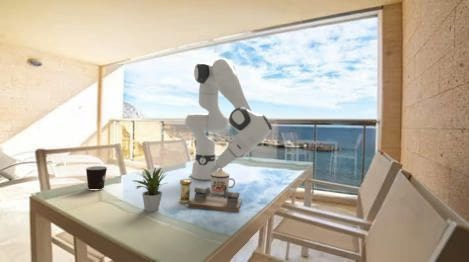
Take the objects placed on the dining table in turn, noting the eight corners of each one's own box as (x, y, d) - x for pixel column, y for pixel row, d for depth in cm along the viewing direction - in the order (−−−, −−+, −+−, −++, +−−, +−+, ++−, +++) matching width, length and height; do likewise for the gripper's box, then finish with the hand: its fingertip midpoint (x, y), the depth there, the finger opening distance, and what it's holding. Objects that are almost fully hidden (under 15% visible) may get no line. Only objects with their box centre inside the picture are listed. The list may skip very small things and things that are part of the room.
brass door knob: (181, 199, 109) (182, 178, 109) (192, 200, 108) (193, 179, 108) (177, 202, 104) (178, 181, 104) (188, 204, 104) (189, 182, 103)
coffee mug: (95, 192, 113) (95, 170, 113) (80, 189, 116) (81, 168, 116) (115, 186, 124) (115, 166, 124) (101, 184, 127) (102, 164, 127)
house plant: (141, 201, 104) (142, 162, 104) (174, 203, 104) (175, 163, 103) (125, 213, 90) (126, 168, 89) (163, 215, 90) (165, 170, 89)
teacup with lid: (209, 195, 118) (210, 170, 117) (210, 189, 127) (211, 166, 126) (235, 196, 118) (236, 171, 118) (234, 190, 127) (235, 167, 127)
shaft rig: (197, 198, 112) (197, 183, 112) (241, 202, 109) (242, 187, 109) (188, 207, 100) (188, 190, 100) (237, 212, 97) (238, 195, 97)
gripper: (237, 140, 113) (214, 160, 115) (229, 143, 93) (202, 167, 94) (246, 150, 112) (224, 170, 114) (240, 156, 92) (213, 180, 94)
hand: (214, 169), depth 104 cm, fingers open, 8 cm apart
